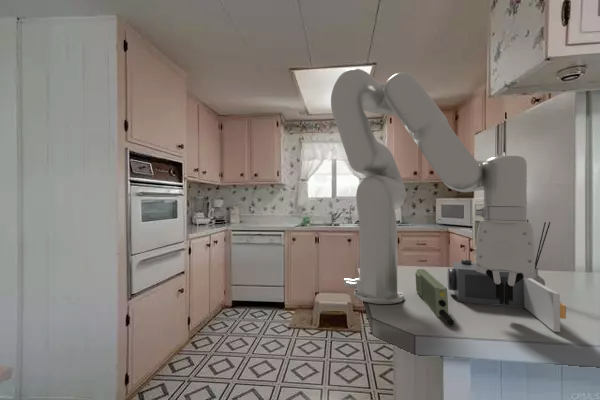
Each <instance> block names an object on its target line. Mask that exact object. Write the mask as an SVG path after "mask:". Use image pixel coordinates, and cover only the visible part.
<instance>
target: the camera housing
mask: <svg viewBox="0 0 600 400" xmlns="http://www.w3.org/2000/svg"><path fill="white" fill-rule="evenodd" d="M452 264H453V265H452V268H447V279H446V280H447V290H449V291H453V293H454V295H455V297H456V299H457V301H458V302H461V303H462V302H463V303H473V304H483V305H494V306H505V307H506V306H507V307H513V308H514V307H516V308H517V307H518V308H525V307H524V306H523V279H522V280H520V281H519V282H517V283H516V284H515V285H514V286H513V301H512V300H509V305H506V304H505V283H506V280H507V279H508V275H509V271H501V270H500V275H501V279H502V280H503V283H504V304H500V299H499V298H496V283H495V282H494V281H493V280H492V279H491V278H490V277H489V276H488V275H487V274H483V273H480V272H477V271H476V270H475V267H476V262H472V260H471V259H465V258H464V259H461V261H453V262H452ZM525 309H526V308H525Z"/></svg>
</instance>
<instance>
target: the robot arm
mask: <svg viewBox="0 0 600 400" xmlns="http://www.w3.org/2000/svg"><path fill="white" fill-rule="evenodd" d="M330 107H331V111H332V112H331V113H332V116H333V119H334V122H335V125H336V128H337V130H338V133H339V134H338V135H339V137H340V141H341V143H342V146H343V149H344V152H345V156H346V157H347V161H348V163H349V166H350V168H351V169H352V170H353V171H354V172H357V173H359V174H363V175H365V178H364V179H363V180H361V182H359V185H358V186H357V189H356V194H355V200H356V206H357V207H356V208H357V213H358V214H357V215H358V224H359V227H358V228H359V229H358V233H359V234H358V236H359V277H356V278H355V279H352V278H344V279H343V286H345V287H346V288H355V289H354V290H353V297H355V299H356V300H359V301H361V302H365V303H370V304H377V305H391V304H393V305H394V304H397V303H401V302H403V301H404V299H405V294H404V293H403V292H402V291H401V290H398V289H399V287H398V285H399V284H398V282H399V280H398V226H397V215H396V210H399V208H401V207H402V206H403V204H404V203H405V201H406V197H407V191H406V186H405V184H404V180H403V179H402V176H401V173H400V171H399V167H398V165H397V163H396V160H395V158H394V155H393V154H392V152H391V150H390V149H389V148H388V147H387V145H384V144H383V143H381V142H379V141H378V140H377V138H376V137H375V134H374V132H373V129H372V126H371V124H370V121H369V119H368V117H367V115H366V113H365V112H368V113H373V114H380V115H392V116H396V117H397V118H398V119H399V120H400V122H401V123H402V126H404V128H405V129H406V131H407V132H408V134H409V135H410V137H411V138H412V140H413V142H414V143H415V145H416V146H417V147H418V148H419V150H420V152H421V153H422V154H423V156H424V158H425V160H426V161H427V162H428V164H429V165H430V166H431V168H432V169H433V170H434V172H435V173H436V175H437V176H438V178H439V179H440V180H441V181H442V182H443V184H444V185H445V186H446V187H448V188H449V189H450V190H453V191H457V192H461V193H470V192H477V191H478V192H479V191H483V208H480V209H476V210H475V213H476V214H475V216H480V217H482V218H483V220H480V221H479V223H478V227H477V233H476V247H475V249H476V250H475V261H476V262H475V263H476V267H475V270H476V271H477V272H480V273H483V274H487V275H488V276H489V277H490V278H491V279H492V280H493V281H494V282H495V283H496V298H499V299H500V304H504V283H503V280H502V279H501V275H500V270H501V271H509V275H508V279H507V280H506V283H505V304H506V305H509V300H512V301H513V286H514V285H515V284H516V283H517V282H519V281H520V280H522V279H528V278H535V277H536V272H535V261H536V250H535V249H536V247H535V245H536V244H535V237H534V236H535V235H534V231H533V230H534V229H533V225H532V223H531V222H528V223H527V219H528V218H527V210H528V209H527V208H528V207H527V206H528V203H527V200H528V199H527V196H528V195H527V188H528V187H527V186H528V183H527V181H528V179H527V177H528V174H527V169H528V168H527V167H528V166H527V165H528V164H527V160H526V159H525V157H523V156H520V155H500V156H493V157H490V158H488V159H486V160H477V159H476V158H475V157H474V156H473V154H471V152H470V151H469V149H468V148H467V147H466V145H465V144H464V143H463V142H462V140H461V139H460V138H459V136H458V135H457V134H456V132H454V130H453V128H452V127H451V126H450V124H449V122H448V121H449V120H448V119H447V116H446V115H445V114H444V113H443V111H442V110H441V108H440V107H439V106H438V105H437V103H435V101H434V99H433V98H432V97H431V96H430V95H429V93H428V92H427V91H426V89H425V88H424V87H423V86H422V85H421V83H420V82H419V81H418V80H417V78H416V77H415V76H414V75H413V74H411V73H408V72H397V73H395V74H393V75H392V76H390V77H389V78H388V79H387V80H386V83H380V82H379V81H377V80H376V78H374V77H373V76H372V75H371V74H369V72H367V71H365V70H364V69H360V68H355V67H354V68H349V69H347V70H344V71H343V72H342V73H341V74H340V75H339V76H338V77H337V79H336V81H335V83H334V85H333V87H332V91H331V97H330Z"/></svg>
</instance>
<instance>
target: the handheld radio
mask: <svg viewBox="0 0 600 400" xmlns="http://www.w3.org/2000/svg"><path fill="white" fill-rule="evenodd" d="M415 291H416V292H417V293H418V295H419V297H421V298H422V300H423V301H424V303H425V304H426V305H427V306H428V307H429V308H430V310H431V311H432V313H433V314H434V315H435V316H436V317H437V318H443V320H444V321H445V322H446V324H448V326H451V327H452V326H454V324H455V320H454V319H453V318H452V316H451V315H449V301H448V300H449V299H448V287H446V286H445V285H443V284H442V283H441V282H440V281H439V280H438V279H436V278H435V277H434V276H433V275H432V274H431V273H429V271H427V270H426V269H425V268H417V269H416V271H415Z"/></svg>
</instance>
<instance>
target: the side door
mask: <svg viewBox="0 0 600 400" xmlns="http://www.w3.org/2000/svg"><path fill="white" fill-rule="evenodd" d="M523 306H524V307H525V309H526V310H527V311H529V312H530V313H531V314H532V315H533V316H534V317H536V318H537V319H538V320H539V321H540V322H541V323H543V325H545V326H546V327H547V328H549V329H550V330H551V331H552V332H555V333H561V319H564V320H566V319H567V313H566V312H567V310H566V309H567V307H566V305H565V304H564V303H562V302H561V299H560V293H559V292H556V291H555V290H553V289H551V288H549V287H548V286H546V285H545V286H544V285H542V284H541V283H539V282H537V281H535V280H533V279H532V278H528V279H523ZM524 307H523V308H524Z"/></svg>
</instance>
